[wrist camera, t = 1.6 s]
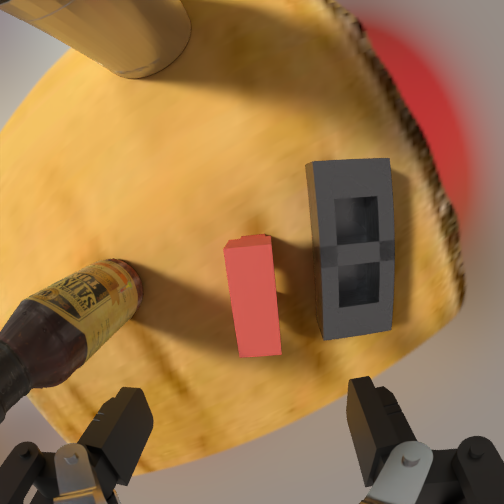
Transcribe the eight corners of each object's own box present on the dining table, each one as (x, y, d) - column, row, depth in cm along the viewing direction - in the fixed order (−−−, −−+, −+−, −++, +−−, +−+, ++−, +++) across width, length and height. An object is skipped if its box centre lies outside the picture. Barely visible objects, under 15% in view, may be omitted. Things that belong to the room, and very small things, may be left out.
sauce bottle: (145, 258, 27) (-16, 377, 7) (147, 319, 28) (32, 467, 9) (88, 252, 27) (-72, 336, 8) (93, 309, 28) (-34, 421, 9)
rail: (305, 164, 24) (312, 161, 20) (372, 161, 24) (389, 158, 20) (316, 319, 27) (323, 340, 23) (376, 311, 27) (391, 330, 23)
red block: (234, 231, 26) (223, 249, 19) (270, 227, 25) (271, 244, 19) (246, 316, 27) (239, 357, 21) (278, 313, 27) (281, 354, 20)
